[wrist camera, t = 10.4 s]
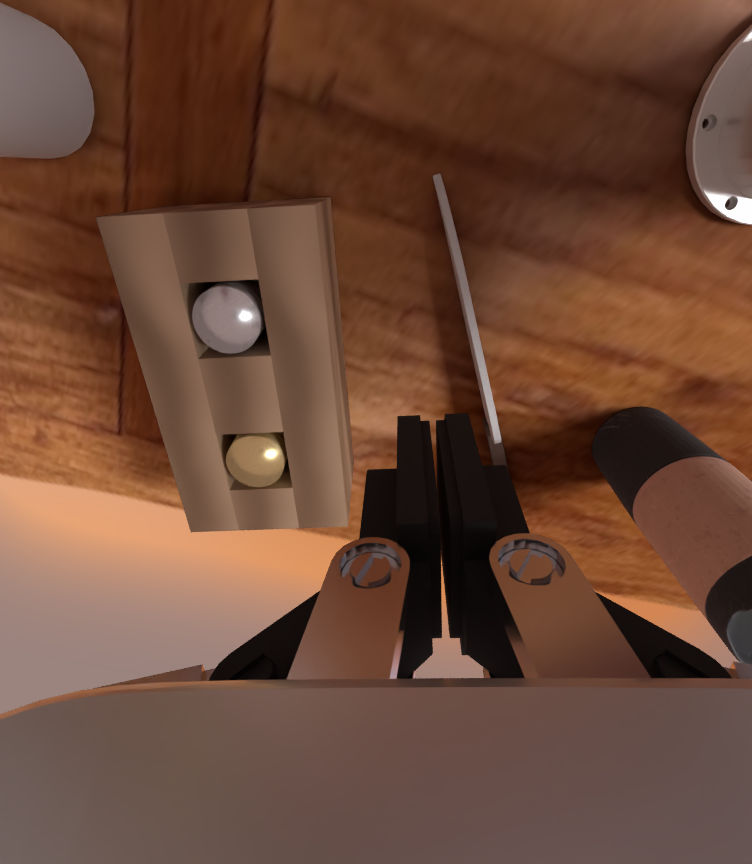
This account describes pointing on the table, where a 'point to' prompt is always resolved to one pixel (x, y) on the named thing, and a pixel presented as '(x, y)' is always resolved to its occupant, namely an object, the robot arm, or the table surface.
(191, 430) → the socket block
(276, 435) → the brass peg
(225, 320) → the steel peg
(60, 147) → the can
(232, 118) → the table surface
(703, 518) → the travel mug
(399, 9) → the table surface
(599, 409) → the table surface
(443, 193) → the kitchen knife
